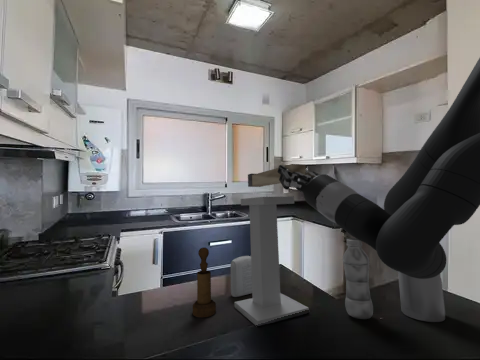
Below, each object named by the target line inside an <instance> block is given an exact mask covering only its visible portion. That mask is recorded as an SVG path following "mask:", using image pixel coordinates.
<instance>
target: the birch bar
mask: <svg viewBox="0 0 480 360" xmlns="http://www.w3.org/2000/svg"><path fill="white" fill-rule="evenodd" d="M284 166H285V167H286V168H288V169H289V170H291V171H293V172H297V171H298V172H300V173H302V174H304V175H306V174H305V173H306V170H307V167H306V166H307V165H306V164H301V163H300V164H299V163H291V164H287V165H284ZM277 171H278V167H276V168H271V169H269V170H265V171H261V172H258V173H248V174H247V186H248V188H251V187H252V188H261V187H266V186H267V187H268V186H273V185H278V184H281V183H280V181H279V178H280V174H279V173H278V172H277ZM290 177H292V175H291V174H290Z"/></svg>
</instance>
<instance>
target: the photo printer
mask: <svg viewBox="0 0 480 360" xmlns="http://www.w3.org/2000/svg"><path fill="white" fill-rule="evenodd" d="M230 293H231V297H234V298H238V297H242V296H245V295H249V294H251V295H252V269H251V255H250V256H249V255H242V256H239V257H236V258H234V259H233V260H232V261H231V262H230Z"/></svg>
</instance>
